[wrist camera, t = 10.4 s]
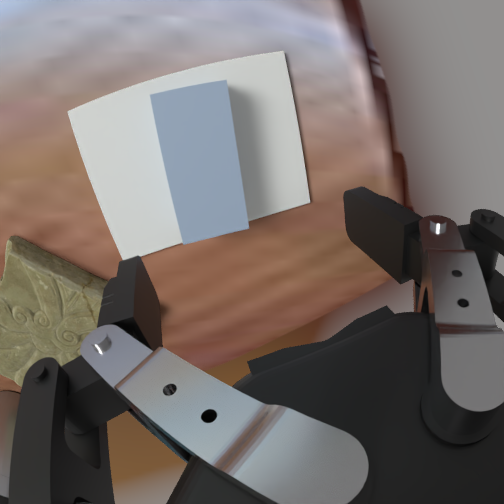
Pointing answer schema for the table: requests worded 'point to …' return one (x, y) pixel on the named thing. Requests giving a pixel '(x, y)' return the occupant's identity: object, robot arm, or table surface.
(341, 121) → the table surface
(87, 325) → the decorative tile
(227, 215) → the block
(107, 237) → the table surface
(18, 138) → the table surface
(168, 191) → the mat
